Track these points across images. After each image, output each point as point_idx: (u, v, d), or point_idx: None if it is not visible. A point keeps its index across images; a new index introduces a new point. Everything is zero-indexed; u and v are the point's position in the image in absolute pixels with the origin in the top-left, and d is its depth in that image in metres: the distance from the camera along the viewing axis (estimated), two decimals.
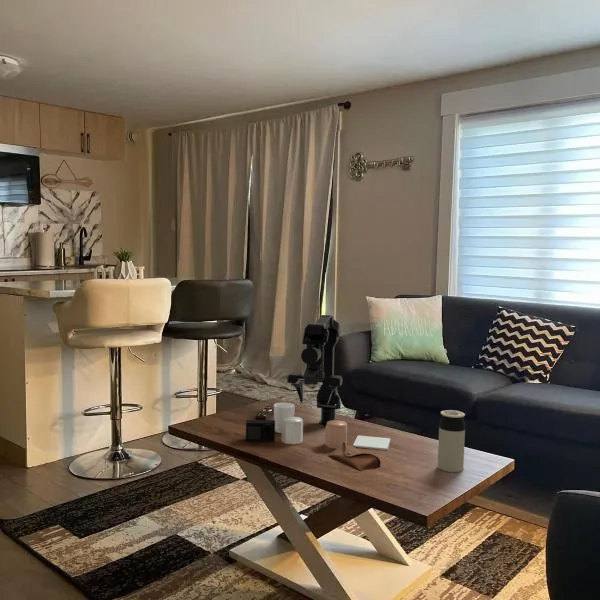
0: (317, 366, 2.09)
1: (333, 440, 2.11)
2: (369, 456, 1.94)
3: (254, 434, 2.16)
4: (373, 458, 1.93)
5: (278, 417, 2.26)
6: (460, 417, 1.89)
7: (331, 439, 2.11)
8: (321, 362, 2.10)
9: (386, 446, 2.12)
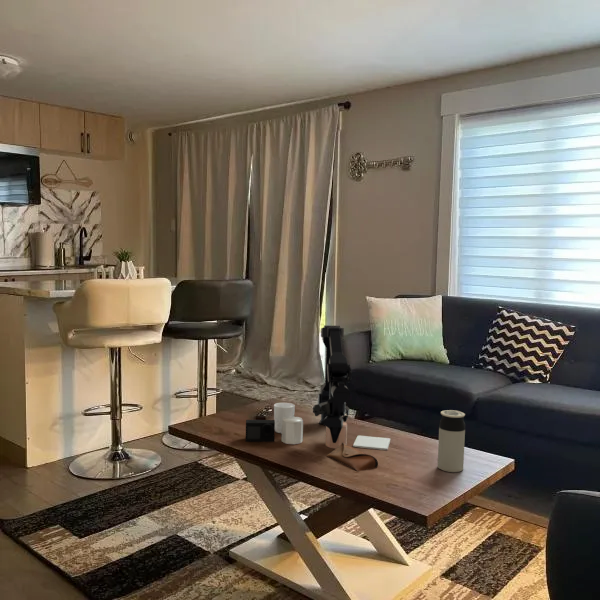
0: None
1: None
2: (367, 457, 1.94)
3: (253, 434, 2.16)
4: (370, 458, 1.93)
5: (278, 417, 2.26)
6: (460, 417, 1.89)
7: (331, 439, 2.11)
8: (332, 399, 2.11)
9: (386, 446, 2.12)
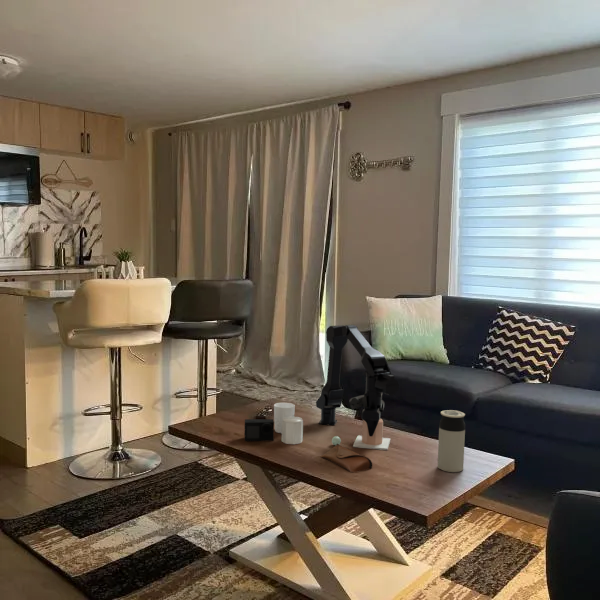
0: (364, 394, 2.15)
1: (370, 436, 2.14)
2: (361, 458, 1.93)
3: (253, 433, 2.16)
4: (364, 459, 1.92)
5: (278, 417, 2.26)
6: (460, 417, 1.89)
7: (368, 435, 2.14)
8: (369, 392, 2.14)
9: (386, 446, 2.12)
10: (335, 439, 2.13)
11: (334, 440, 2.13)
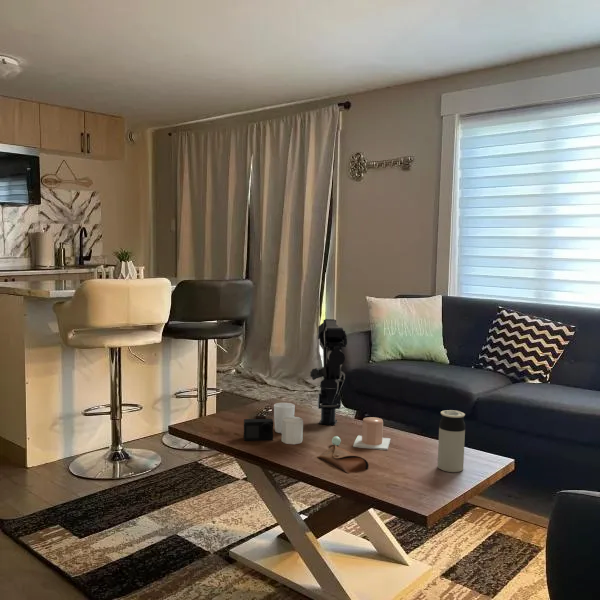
0: None
1: (370, 436, 2.14)
2: (357, 458, 1.92)
3: (252, 433, 2.17)
4: (361, 460, 1.91)
5: (278, 417, 2.26)
6: (460, 417, 1.89)
7: (368, 435, 2.14)
8: (328, 363, 2.23)
9: (386, 446, 2.12)
10: (335, 439, 2.13)
11: (334, 440, 2.13)
